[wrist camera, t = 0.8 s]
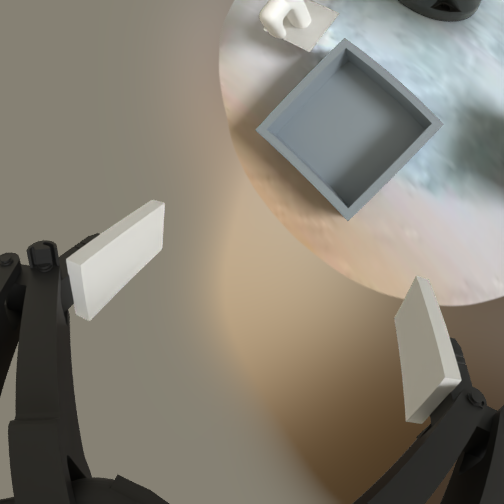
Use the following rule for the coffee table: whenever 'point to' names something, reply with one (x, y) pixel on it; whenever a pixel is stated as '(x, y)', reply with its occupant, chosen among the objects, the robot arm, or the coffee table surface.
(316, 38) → the figurine
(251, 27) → the coffee table surface
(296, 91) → the tray
